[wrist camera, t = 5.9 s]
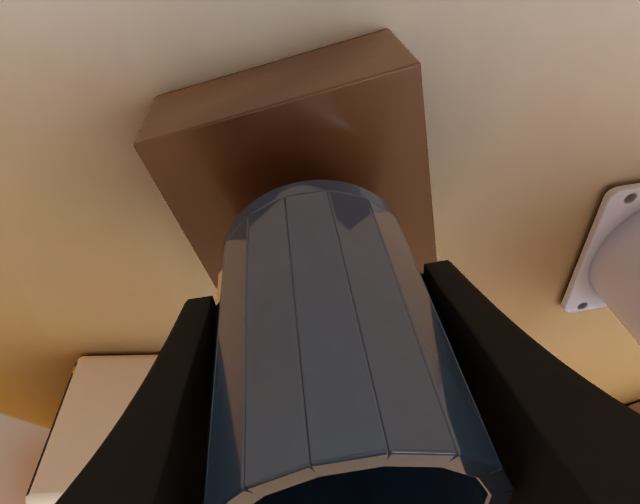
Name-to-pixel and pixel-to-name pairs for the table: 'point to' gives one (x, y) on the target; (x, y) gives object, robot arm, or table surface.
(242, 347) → the cup
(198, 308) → the robot arm
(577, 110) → the table surface
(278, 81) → the block
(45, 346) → the table surface
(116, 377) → the medicine bottle
